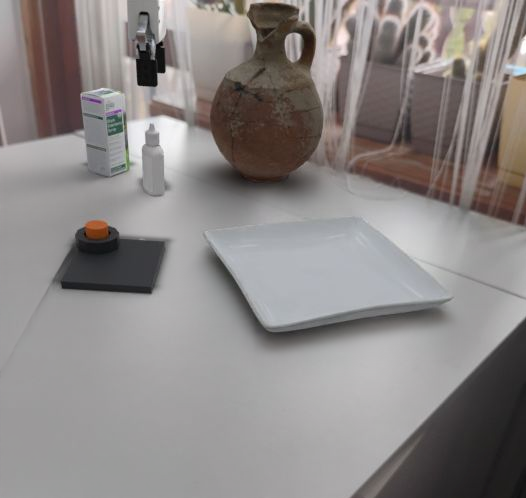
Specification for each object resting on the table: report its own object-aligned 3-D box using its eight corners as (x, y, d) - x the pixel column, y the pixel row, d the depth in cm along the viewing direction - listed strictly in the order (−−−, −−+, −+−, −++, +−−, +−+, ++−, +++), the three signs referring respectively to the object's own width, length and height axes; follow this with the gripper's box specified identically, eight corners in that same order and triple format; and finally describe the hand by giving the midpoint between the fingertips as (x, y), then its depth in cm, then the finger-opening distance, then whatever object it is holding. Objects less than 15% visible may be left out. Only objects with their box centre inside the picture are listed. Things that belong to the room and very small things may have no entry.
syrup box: (110, 177, 118) (104, 97, 110) (86, 170, 121) (79, 91, 112) (130, 170, 122) (126, 92, 114) (107, 163, 125) (101, 86, 116)
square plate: (199, 251, 96) (200, 227, 94) (357, 234, 105) (361, 212, 103) (263, 350, 76) (265, 322, 73) (451, 318, 85) (459, 293, 82)
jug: (187, 167, 126) (187, -3, 109) (266, 150, 138) (277, -5, 121) (259, 202, 113) (272, 17, 96) (339, 180, 126) (363, 12, 109)
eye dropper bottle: (139, 195, 112) (136, 127, 105) (144, 184, 117) (142, 118, 110) (163, 197, 112) (162, 129, 105) (168, 186, 117) (166, 120, 110)
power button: (83, 239, 91) (82, 228, 90) (88, 230, 93) (87, 219, 92) (106, 241, 91) (105, 229, 90) (110, 231, 93) (109, 220, 92)
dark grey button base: (57, 288, 84) (54, 268, 82) (83, 241, 96) (81, 223, 94) (151, 294, 84) (150, 274, 83) (165, 246, 96) (165, 228, 95)
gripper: (131, -48, 101) (138, 66, 110) (110, -41, 86) (119, 90, 96) (178, -45, 101) (180, 69, 111) (164, -37, 87) (168, 93, 97)
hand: (152, 79), depth 104 cm, fingers open, 9 cm apart
